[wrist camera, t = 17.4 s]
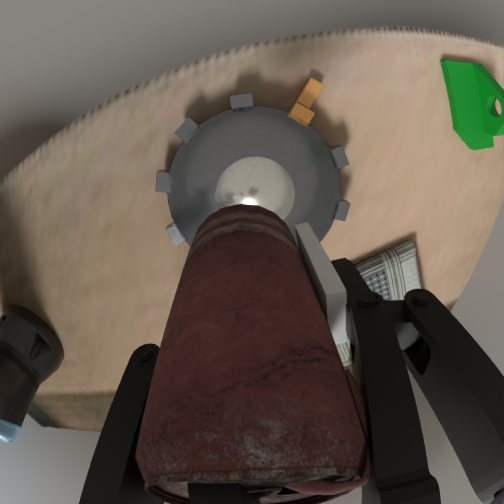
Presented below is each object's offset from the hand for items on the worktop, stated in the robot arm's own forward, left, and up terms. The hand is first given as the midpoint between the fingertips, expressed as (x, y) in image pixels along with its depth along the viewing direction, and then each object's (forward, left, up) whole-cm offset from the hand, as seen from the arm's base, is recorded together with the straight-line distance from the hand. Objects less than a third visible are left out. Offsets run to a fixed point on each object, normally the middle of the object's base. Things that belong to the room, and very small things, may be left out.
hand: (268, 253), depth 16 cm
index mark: (+1, +12, -15) cm, 19 cm away
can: (-1, -1, -1) cm, 2 cm away
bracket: (+21, +23, -15) cm, 35 cm away
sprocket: (0, 0, -13) cm, 13 cm away
